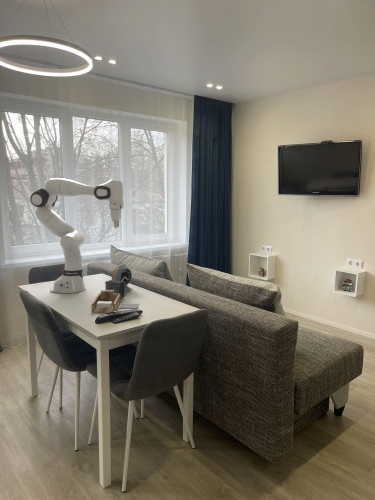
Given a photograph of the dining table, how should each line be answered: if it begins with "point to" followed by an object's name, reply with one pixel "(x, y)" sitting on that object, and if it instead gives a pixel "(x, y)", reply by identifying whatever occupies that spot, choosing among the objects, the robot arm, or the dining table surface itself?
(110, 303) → the offcut top
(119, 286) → the small box
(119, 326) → the dining table surface
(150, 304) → the dining table surface
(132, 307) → the pad
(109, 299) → the wooden block
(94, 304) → the wooden tray
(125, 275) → the alarm clock
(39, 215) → the robot arm
